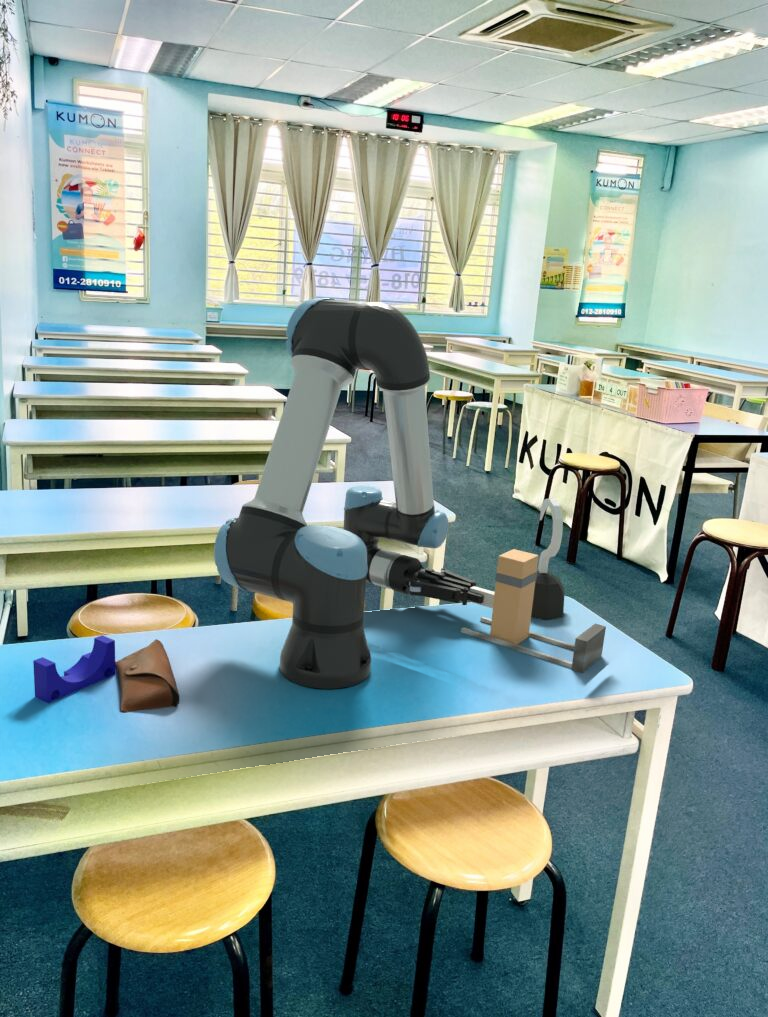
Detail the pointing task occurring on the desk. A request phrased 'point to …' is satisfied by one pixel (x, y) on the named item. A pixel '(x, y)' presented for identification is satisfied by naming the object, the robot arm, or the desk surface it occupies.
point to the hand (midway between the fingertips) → (501, 602)
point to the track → (584, 648)
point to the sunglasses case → (147, 680)
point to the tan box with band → (514, 596)
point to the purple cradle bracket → (75, 672)
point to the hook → (547, 585)
